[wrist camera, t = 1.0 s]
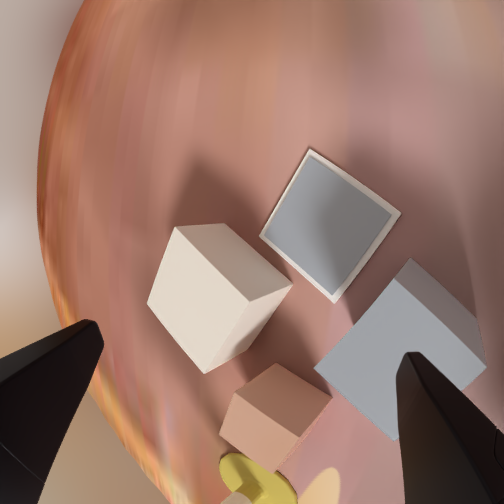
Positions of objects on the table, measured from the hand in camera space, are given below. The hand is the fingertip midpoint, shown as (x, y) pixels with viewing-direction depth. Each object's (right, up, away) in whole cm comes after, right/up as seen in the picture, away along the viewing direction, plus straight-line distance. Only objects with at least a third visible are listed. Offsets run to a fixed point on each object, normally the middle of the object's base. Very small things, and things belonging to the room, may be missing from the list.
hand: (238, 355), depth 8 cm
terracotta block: (+3, -9, +13) cm, 16 cm away
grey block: (+10, -1, +8) cm, 12 cm away
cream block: (-1, 0, +15) cm, 15 cm away
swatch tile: (+5, +4, +10) cm, 12 cm away
